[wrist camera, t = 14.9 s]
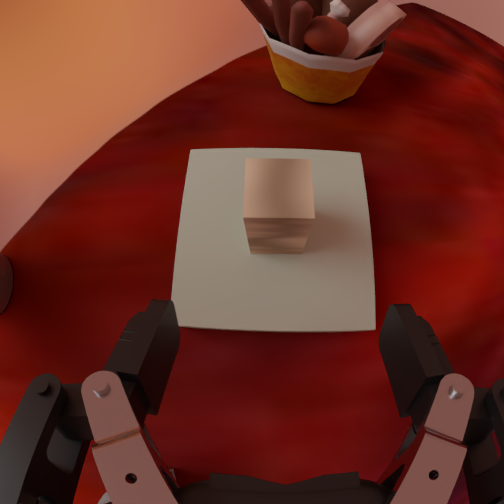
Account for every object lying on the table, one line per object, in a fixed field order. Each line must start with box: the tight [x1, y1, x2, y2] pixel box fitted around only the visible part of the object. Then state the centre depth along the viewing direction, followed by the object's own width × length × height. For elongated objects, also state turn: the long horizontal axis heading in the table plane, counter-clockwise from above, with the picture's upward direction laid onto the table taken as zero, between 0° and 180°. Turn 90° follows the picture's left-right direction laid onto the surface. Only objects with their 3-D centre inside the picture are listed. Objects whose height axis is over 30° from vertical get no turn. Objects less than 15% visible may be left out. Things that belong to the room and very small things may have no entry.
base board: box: [171, 148, 376, 332], centre depth 29 cm, size 18×18×4 cm
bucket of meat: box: [241, 0, 407, 104], centre depth 28 cm, size 20×16×20 cm
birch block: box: [243, 158, 315, 254], centre depth 23 cm, size 4×4×8 cm
